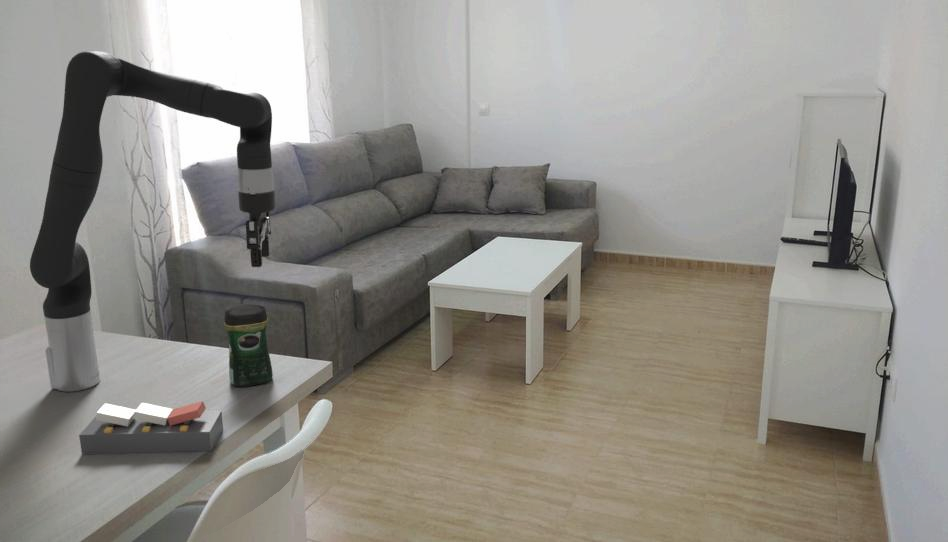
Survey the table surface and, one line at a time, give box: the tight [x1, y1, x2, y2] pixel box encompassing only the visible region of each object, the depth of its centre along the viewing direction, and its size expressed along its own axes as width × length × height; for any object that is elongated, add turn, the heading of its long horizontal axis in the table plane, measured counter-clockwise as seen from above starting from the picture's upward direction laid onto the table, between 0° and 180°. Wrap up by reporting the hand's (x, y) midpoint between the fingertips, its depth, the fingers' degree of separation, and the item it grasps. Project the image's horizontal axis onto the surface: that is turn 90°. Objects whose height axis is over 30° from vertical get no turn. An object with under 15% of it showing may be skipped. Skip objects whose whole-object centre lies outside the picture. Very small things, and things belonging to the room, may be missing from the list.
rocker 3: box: [167, 401, 207, 425], centre depth 151 cm, size 6×4×2 cm, turn 93°
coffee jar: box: [223, 301, 274, 388], centre depth 178 cm, size 10×8×19 cm
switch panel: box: [78, 410, 224, 455], centre depth 151 cm, size 24×9×5 cm, turn 93°
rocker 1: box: [95, 402, 136, 426], centre depth 150 cm, size 6×4×2 cm, turn 94°
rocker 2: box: [133, 402, 174, 426], centre depth 150 cm, size 6×4×2 cm, turn 94°
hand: (260, 261), depth 171 cm, fingers open, 8 cm apart
